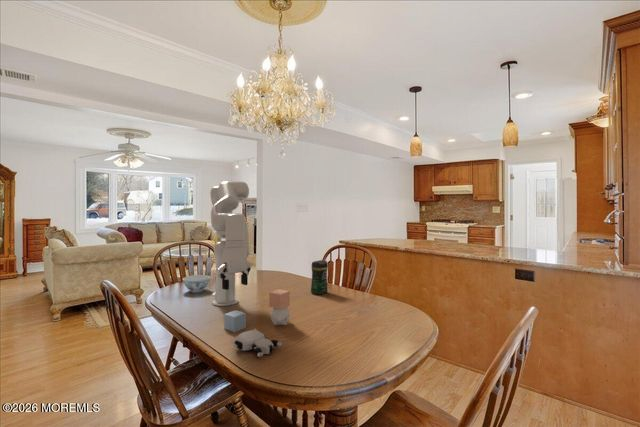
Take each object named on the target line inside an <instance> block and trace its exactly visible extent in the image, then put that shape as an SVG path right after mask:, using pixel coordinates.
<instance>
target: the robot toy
mask: <svg viewBox="0 0 640 427" xmlns="http://www.w3.org/2000/svg"><path fill="white" fill-rule="evenodd" d="M228 341H229V342H230V343H231V344H232V345H234V347H235V348H237V349H238V350H240V351H250V350H253V351H254V354H255V356H256V357H263V355H269V354H271V353H273V351H274V347H275V348H277V346H278V347H281V346H282V345H283V343H282V342H281V341H279V340H277V339H272V340H271V339H268V338H265V335H264V333H263V332H261V331H259V330H258V329H256V328H254V329H252V330H248V331H244V332H241V333H240V334H238V335H236V337H234V342H233V341H232V340H231V339H229V340H228Z"/></svg>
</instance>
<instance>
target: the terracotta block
mask: <svg viewBox="0 0 640 427" xmlns="http://www.w3.org/2000/svg"><path fill="white" fill-rule="evenodd" d="M290 292H291V291H289V290H285V289H280V288H278V289H275V290H273V291H269V294H268V299H269V300H268V301H269V302H268V306H269V307H270V308H272V309H273V308H278V309H282V308H284V307H288V306H290V302H291V301H290Z"/></svg>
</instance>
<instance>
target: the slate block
mask: <svg viewBox="0 0 640 427" xmlns="http://www.w3.org/2000/svg"><path fill="white" fill-rule="evenodd" d="M223 315H224V317H223V329H224V330H226V329H227V330H226V331H229V330H230V332H232V331H233V333H235V332H238V331H240V329H241V330H243V329H245V328H247V322H246V321H247V316H246V315H247V313H246V312H243V311H240V310H232V311H229V312H227V313H224V314H223ZM242 328H243V329H242Z"/></svg>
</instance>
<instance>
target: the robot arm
mask: <svg viewBox="0 0 640 427" xmlns="http://www.w3.org/2000/svg"><path fill="white" fill-rule="evenodd" d="M209 194H210V200H211V205H212V207H211V211H210V222H211V223H210V224H211V228H212V229H213V231H216V235H217V237H218V238H219V239H223V240H221V241H217V242H216V243H215V244H214V246H213V253H214V261H215V262H214V263H215V292H214V293H212V294H211V295H212V297H214V299H213V300H212V305H214V306H218V307H228V306H232V305H236V304H238V302H239V298H238V297H236V274H239V273H241V275H240V284H241V285H243V286H248V285H249V283H248V282H249V281H248V276H249V274H250V271H251V269H252V266H253V263H251V262H250V261H248V257H249V255H250V234H249V227H248V223H247V217H246V216H245V215H244V214H243V213H235V212H234V213H233V211H235V210H236V209H237V208H238V207H239V204H240V203H244V202H245V201H246V200H247V199H248V197H249V196H250V189H249V186H248V184H247V183H246V182H245V181H239V180H237V181H235V180H226V181H222V182H220V183H219V184H218V185H216V186H213V187H212V188H211V189H210V192H209ZM224 239H225V240H224Z"/></svg>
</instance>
